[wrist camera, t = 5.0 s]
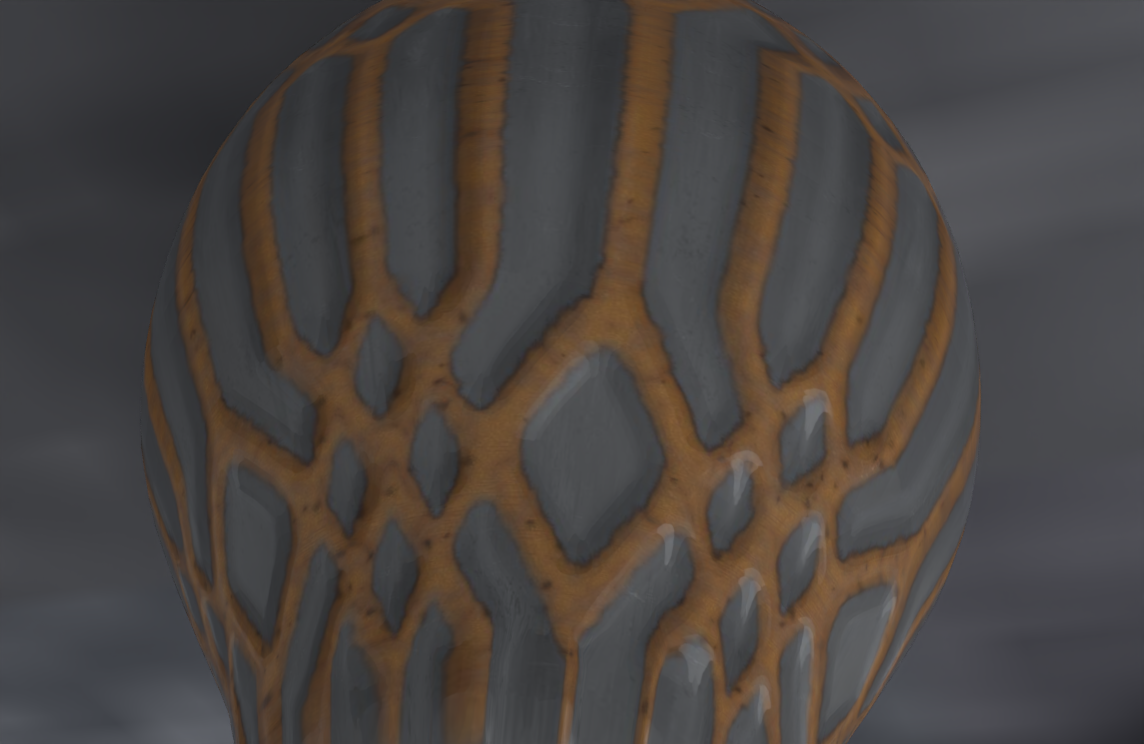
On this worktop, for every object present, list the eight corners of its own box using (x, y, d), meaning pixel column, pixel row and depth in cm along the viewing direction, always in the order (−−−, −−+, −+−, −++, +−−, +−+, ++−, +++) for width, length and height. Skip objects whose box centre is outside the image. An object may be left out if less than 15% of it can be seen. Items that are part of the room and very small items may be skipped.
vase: (515, -223, 9) (-7, -683, 1) (970, 178, 11) (1780, 894, 3) (224, 267, 12) (-458, 965, 4) (622, 517, 14) (629, 1312, 6)
